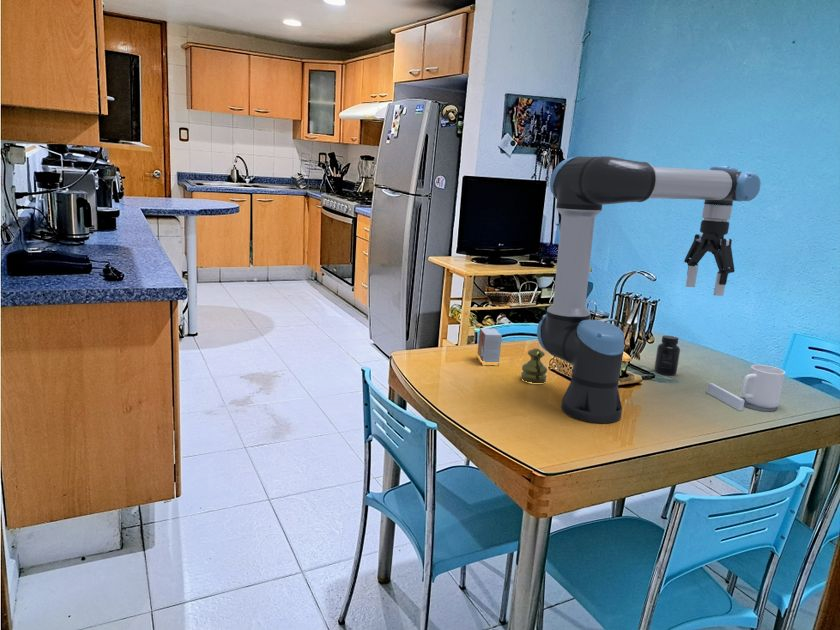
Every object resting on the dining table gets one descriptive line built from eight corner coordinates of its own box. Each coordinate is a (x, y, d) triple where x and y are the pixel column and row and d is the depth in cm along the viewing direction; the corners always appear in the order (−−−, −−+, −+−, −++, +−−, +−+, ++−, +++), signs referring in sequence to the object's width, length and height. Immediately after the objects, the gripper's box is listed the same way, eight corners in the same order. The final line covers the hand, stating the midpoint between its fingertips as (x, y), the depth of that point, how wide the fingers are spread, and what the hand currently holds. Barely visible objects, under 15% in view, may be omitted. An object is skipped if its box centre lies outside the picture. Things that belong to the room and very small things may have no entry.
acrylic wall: (738, 410, 160) (740, 400, 160) (706, 392, 174) (708, 382, 173) (742, 410, 161) (744, 400, 160) (710, 392, 174) (711, 382, 173)
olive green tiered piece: (544, 387, 170) (547, 354, 168) (518, 382, 173) (522, 350, 170) (547, 379, 177) (550, 347, 175) (522, 375, 179) (525, 344, 177)
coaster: (753, 411, 160) (753, 410, 160) (728, 398, 170) (728, 397, 170) (785, 411, 162) (785, 410, 162) (759, 398, 171) (759, 396, 171)
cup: (785, 408, 163) (792, 373, 161) (750, 410, 160) (757, 374, 158) (761, 397, 171) (768, 364, 169) (727, 399, 168) (733, 365, 166)
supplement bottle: (680, 374, 190) (686, 338, 187) (668, 377, 186) (674, 341, 183) (661, 368, 195) (667, 333, 193) (649, 371, 192) (654, 335, 189)
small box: (476, 358, 194) (479, 327, 192) (493, 358, 195) (496, 328, 192) (482, 366, 186) (484, 334, 184) (499, 366, 187) (502, 334, 185)
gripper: (757, 224, 161) (743, 299, 166) (700, 217, 185) (690, 283, 190) (732, 222, 160) (719, 299, 164) (679, 216, 184) (668, 283, 188)
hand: (703, 291), depth 177 cm, fingers open, 13 cm apart
